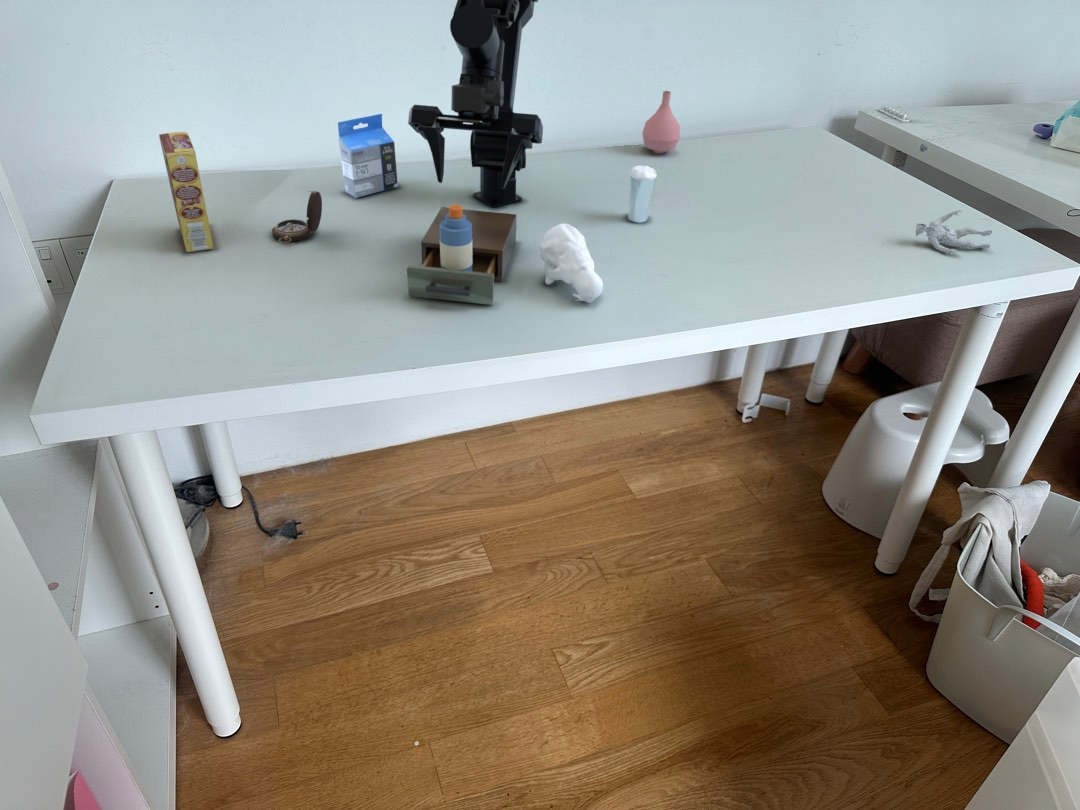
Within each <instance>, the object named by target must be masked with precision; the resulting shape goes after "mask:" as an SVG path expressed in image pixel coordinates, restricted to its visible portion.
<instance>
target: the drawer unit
mask: <svg viewBox="0 0 1080 810" xmlns="http://www.w3.org/2000/svg"><path fill="white" fill-rule="evenodd" d="M448 213H449V207H443V206H441V208H440V209H439V211H438V213H437V214H436V216H435V217H434V219H433V221H432V223H431V225H430V226H429V227H428V230H427V231H426V233H425V235H424V236H423V238H422V240H421V242H420V252H421V266H422V265H423V263H424V262H425V260H426V258H427V256H428V254H429V253H430V251H431V249H432V248H440V223H441V222H442V221H444V220H445V216H446V215H447V214H448ZM462 213H463V214H464V215H465V216H466V220H468V221H469V222H471V224H472V252H481V253H490V254H498V267H497V270H496V272H495V275H494V282H503V280H504V277H505V274H506V271H507V269H508V266H509V263H510V260H511V258H512V255H513V252H514V250H515V247H516V244H517V214H515V213H507V212H505V213H504V212H496V211H485V210H475V209H465V208H462Z"/></svg>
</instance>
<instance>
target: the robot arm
mask: <svg viewBox="0 0 1080 810" xmlns="http://www.w3.org/2000/svg"><path fill="white" fill-rule="evenodd" d="M538 2H539V0H457V1H456V4H455V7H454V10H453V15H452V17H451V19H450V23H449V30H450V33H451V36H452V38H453V40H454V42H455V45H456V47H457V48H458V50H459V52H460V55H461V56H462V62H461V73H460V76H459V80H458V81H459V82H458V84H457V83H456V84H452V85H451V100H450V102H451V103H450V104H451V105H450V108H451V109H450V110H451V111H452V112H454V113H457V115H456V114H455V115H454V114H444V113H443V112H442V110H441V109H440V108H439V106H434V105H425V104H424V105H423V104H413V105H412V107H410V109H409V111H408V121H407V124H408V126H410V128H412V129H413V130H414V131H415V132H416V133H417V134H419V135H420V136H421V137H422V138H423V139H424V140H426V142H427V143H428V146H429V150H430V153H431V157H432V161H433V165H434V169H435V174H436V179H437V182H438V183H440V184H442V183H443V180H444V175H445V174H444V173H445V151H446V150H445V148H446V147H445V146H446V137H445V136H443V134H442V133H443V132H444V131H445V129H447V130H458V131H459V130H461V131H471V132H470V140H469V150H470V160H471V167H472V168H480V169H479V171H480V172H479V173H480V174H479V175H480V177H479V178H480V179H479V180H480V181H479V183H480V185H479V186H480V187H479V189H480V191H476V192H473V193H472V196H473V197H474V198H476V200H478V201H481V202H482V203H484V204H485V205H486V206H488V207H490V208H493V209H495V208H499V207H503V206H507V205H511V204H515V203H518V202H522V201H523V197H522V196H520V195H518V194H517V178H516V177H517V174H516V173H517V172H521V170H522V169H526V167H527V152H526V151H527V150H531V149H533V144H535V145H539V144H542V143H543V135H544V125H543V122H542V120H541V117H540V116H539V115H538V114H534V113H523V112H522V113H521V112H514V104H515V95H516V86H517V78H518V70H519V69H518V68H519V60H520V59H519V58H520V51H521V41H522V33H523V29H524V27H525V26H526V25H527V24H528V23H529V22H530V21H531V19H532V18H533V16H534V10H535V4H536V3H538Z"/></svg>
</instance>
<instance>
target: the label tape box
mask: <svg viewBox="0 0 1080 810" xmlns="http://www.w3.org/2000/svg"><path fill="white" fill-rule="evenodd" d="M360 124H362V125H366V124H367V126H363V127H359V128H354V127H355V126H359V125H360ZM337 129H338V144H339V145H338V146H339V152H340V160H341V168H342V175H343V184H344V191H345V193H347V194H348V195H350V196H351V197H354V198H356V199H358V198H360V197H361V198H362V197H364V196H369V195H372V194H376V193H381V192H385V191H387V190H391V189H394V188H395V189H396V188H398V186H399V184H398V171H397V159H396V157H397V156H396V147H395V146H396V145H395V141H394V140H393V138H392V137H391V136H390V134H388V132H387V131H386V130H385V129H384V127H383V114H382V113H378V114H373V115H367V116H362V117H357V118H352V119H347V120H342V121H338V122H337Z"/></svg>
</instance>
